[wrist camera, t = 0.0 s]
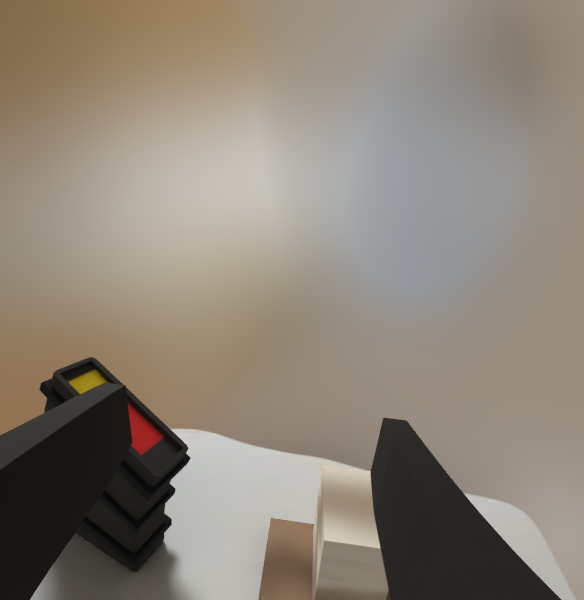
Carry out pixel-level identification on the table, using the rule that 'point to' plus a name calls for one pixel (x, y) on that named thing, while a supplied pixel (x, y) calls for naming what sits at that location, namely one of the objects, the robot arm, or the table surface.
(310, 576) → the board
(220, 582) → the table surface
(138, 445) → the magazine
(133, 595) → the table surface
